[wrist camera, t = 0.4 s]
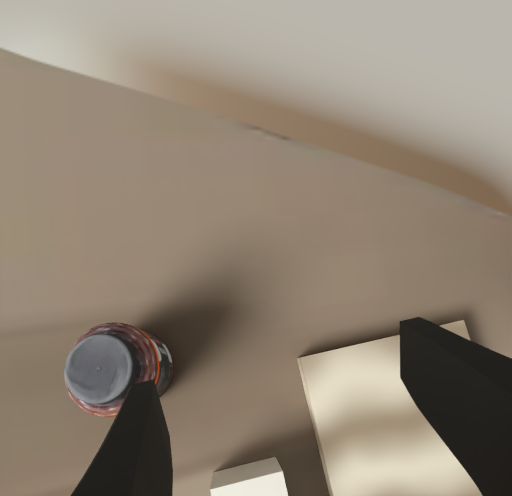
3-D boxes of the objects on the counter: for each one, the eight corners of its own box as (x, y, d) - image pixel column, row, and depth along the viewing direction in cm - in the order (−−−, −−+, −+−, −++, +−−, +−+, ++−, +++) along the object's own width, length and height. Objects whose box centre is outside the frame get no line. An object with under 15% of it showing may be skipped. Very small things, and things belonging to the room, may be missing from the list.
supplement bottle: (175, 332, 39) (154, 317, 28) (172, 407, 37) (148, 422, 26) (103, 332, 38) (52, 316, 27) (97, 407, 37) (40, 423, 26)
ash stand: (508, 495, 37) (524, 502, 35) (340, 542, 35) (347, 552, 33) (452, 322, 40) (463, 319, 38) (296, 358, 39) (300, 357, 37)
